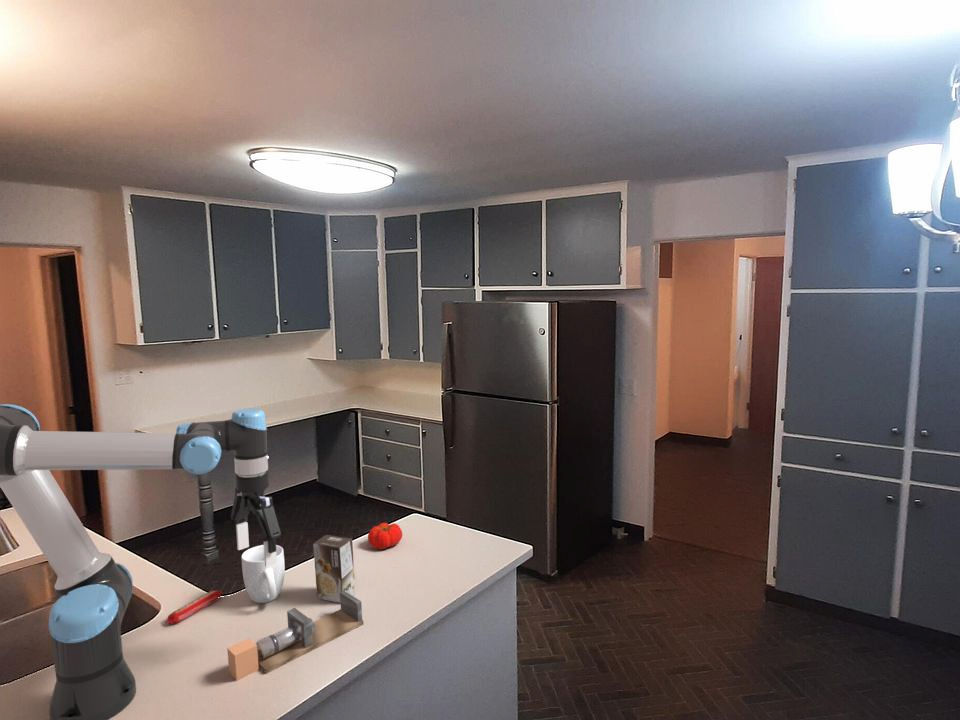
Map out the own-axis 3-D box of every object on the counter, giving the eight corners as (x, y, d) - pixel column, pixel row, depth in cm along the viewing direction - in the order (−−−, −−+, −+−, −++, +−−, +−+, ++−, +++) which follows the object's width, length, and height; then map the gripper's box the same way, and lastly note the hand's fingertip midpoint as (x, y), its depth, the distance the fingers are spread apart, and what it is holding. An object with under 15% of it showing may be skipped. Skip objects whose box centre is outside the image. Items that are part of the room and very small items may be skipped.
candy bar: (215, 595, 166) (214, 585, 165) (224, 598, 164) (223, 588, 164) (163, 625, 151) (162, 614, 151) (173, 629, 150) (172, 618, 149)
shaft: (264, 662, 133) (263, 645, 133) (256, 654, 136) (255, 638, 136) (316, 637, 143) (315, 621, 142) (307, 630, 145) (306, 615, 145)
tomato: (363, 547, 194) (362, 528, 193) (386, 535, 203) (385, 517, 202) (384, 555, 188) (384, 535, 187) (407, 542, 197) (407, 523, 196)
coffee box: (356, 592, 165) (354, 538, 163) (343, 604, 159) (340, 548, 157) (329, 587, 168) (326, 533, 166) (315, 598, 163) (312, 543, 161)
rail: (266, 673, 131) (263, 643, 130) (248, 656, 137) (246, 627, 136) (363, 624, 150) (362, 597, 149) (343, 611, 156) (342, 585, 155)
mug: (295, 605, 159) (292, 560, 157) (252, 619, 153) (249, 571, 151) (280, 583, 171) (277, 540, 170) (240, 594, 165) (237, 550, 164)
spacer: (236, 680, 129) (234, 655, 128) (229, 672, 132) (227, 648, 131) (258, 670, 133) (257, 645, 132) (250, 662, 135) (249, 638, 135)
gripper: (293, 479, 137) (297, 565, 140) (242, 459, 154) (246, 537, 156) (263, 487, 132) (268, 577, 134) (213, 466, 148) (218, 546, 151)
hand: (256, 556), depth 145 cm, fingers open, 13 cm apart
